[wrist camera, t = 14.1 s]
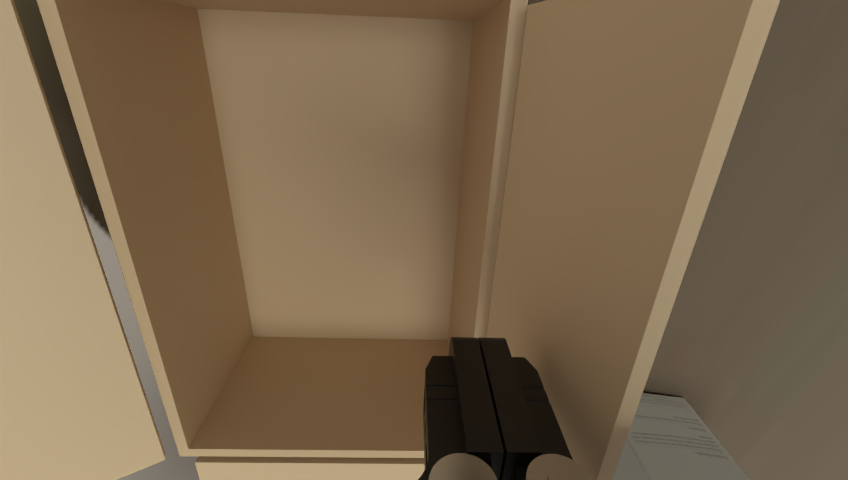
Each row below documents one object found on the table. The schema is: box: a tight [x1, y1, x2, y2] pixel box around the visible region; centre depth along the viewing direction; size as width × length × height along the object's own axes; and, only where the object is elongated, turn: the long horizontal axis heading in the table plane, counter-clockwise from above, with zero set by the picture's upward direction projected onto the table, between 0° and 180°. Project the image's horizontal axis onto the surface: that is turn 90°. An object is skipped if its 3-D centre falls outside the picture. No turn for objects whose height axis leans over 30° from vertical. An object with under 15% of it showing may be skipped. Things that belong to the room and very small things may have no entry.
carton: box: [37, 0, 528, 480], centre depth 19 cm, size 14×33×9 cm, turn 178°
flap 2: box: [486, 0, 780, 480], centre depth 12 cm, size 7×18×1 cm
